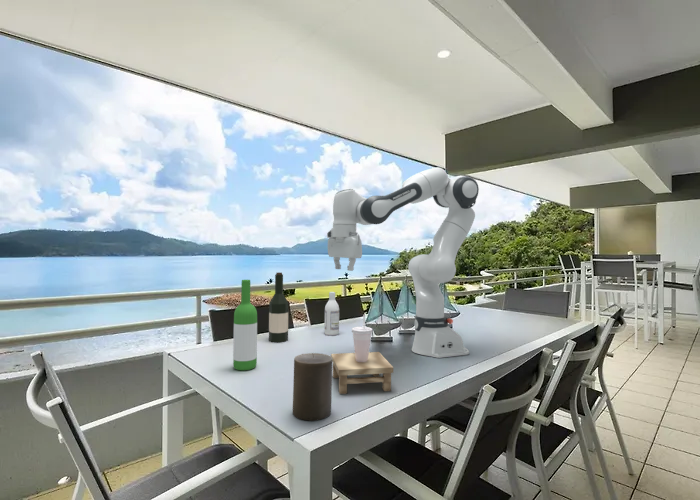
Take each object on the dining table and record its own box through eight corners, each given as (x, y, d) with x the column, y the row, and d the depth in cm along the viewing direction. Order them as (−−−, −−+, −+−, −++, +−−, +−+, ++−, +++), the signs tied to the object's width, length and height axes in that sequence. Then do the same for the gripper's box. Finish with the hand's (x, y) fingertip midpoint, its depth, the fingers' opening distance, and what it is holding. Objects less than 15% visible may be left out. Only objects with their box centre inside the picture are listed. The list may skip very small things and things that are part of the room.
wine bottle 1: (257, 363, 132) (258, 278, 131) (255, 370, 124) (256, 281, 124) (234, 364, 130) (235, 279, 130) (231, 371, 123) (232, 281, 122)
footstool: (378, 372, 123) (379, 351, 123) (393, 391, 108) (393, 367, 107) (330, 375, 120) (331, 353, 120) (338, 394, 105) (338, 370, 105)
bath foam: (341, 333, 179) (342, 291, 179) (334, 336, 173) (335, 293, 173) (329, 331, 182) (329, 291, 182) (321, 334, 176) (322, 292, 176)
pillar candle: (310, 425, 87) (312, 360, 87) (284, 412, 93) (286, 352, 93) (339, 412, 94) (340, 352, 94) (313, 401, 100) (314, 345, 100)
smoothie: (370, 364, 110) (371, 317, 110) (349, 362, 111) (349, 316, 111) (373, 357, 116) (374, 313, 116) (353, 356, 118) (353, 312, 118)
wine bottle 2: (278, 337, 170) (279, 271, 170) (291, 340, 165) (292, 272, 165) (264, 340, 163) (265, 272, 163) (278, 343, 159) (278, 273, 158)
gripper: (366, 232, 132) (366, 271, 132) (338, 233, 149) (338, 268, 149) (351, 231, 128) (350, 271, 128) (324, 233, 146) (324, 268, 146)
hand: (344, 269), depth 139 cm, fingers open, 8 cm apart
